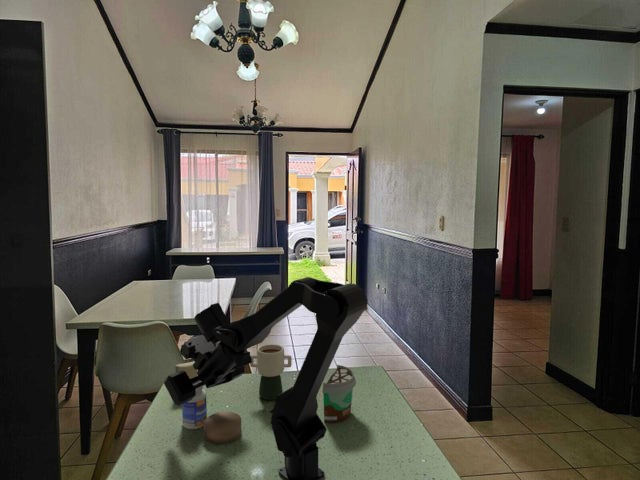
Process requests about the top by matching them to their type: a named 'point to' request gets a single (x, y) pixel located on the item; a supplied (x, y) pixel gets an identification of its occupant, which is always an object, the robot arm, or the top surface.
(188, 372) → the beige rounded block
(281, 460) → the top surface
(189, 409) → the pill bottle
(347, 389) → the food container
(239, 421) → the brown round smooth part
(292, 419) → the robot arm
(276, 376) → the character mug
